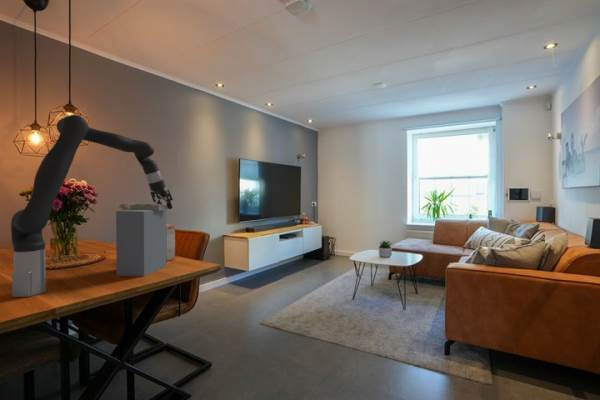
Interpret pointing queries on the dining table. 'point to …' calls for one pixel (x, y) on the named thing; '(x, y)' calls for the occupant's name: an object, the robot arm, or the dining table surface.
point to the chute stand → (141, 240)
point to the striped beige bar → (127, 206)
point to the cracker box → (170, 242)
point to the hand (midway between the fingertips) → (166, 208)
